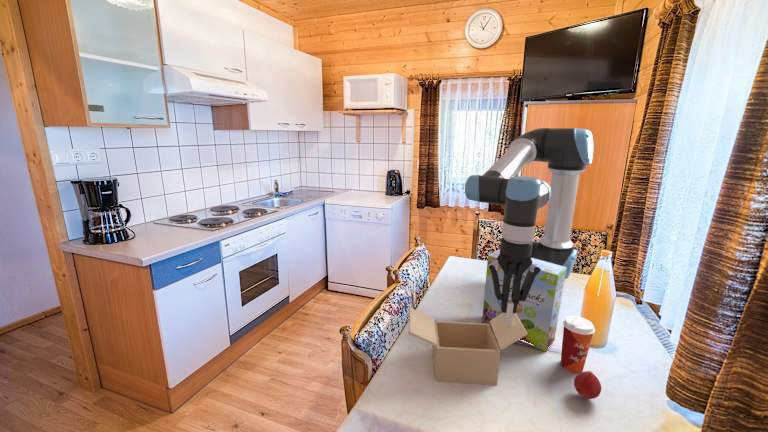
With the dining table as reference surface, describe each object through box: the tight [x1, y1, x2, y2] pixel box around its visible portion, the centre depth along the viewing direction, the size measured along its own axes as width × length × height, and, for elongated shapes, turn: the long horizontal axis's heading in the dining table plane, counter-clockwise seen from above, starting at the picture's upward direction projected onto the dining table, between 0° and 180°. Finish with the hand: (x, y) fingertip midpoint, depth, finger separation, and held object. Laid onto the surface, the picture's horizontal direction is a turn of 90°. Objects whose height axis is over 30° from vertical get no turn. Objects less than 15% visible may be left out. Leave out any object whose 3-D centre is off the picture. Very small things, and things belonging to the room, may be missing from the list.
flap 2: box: [490, 313, 527, 351], centre depth 93 cm, size 8×12×1 cm
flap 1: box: [408, 306, 437, 346], centre depth 95 cm, size 8×12×1 cm, turn 177°
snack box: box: [481, 248, 567, 353], centre depth 110 cm, size 22×9×26 cm, turn 47°
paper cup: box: [560, 315, 596, 374], centre depth 96 cm, size 8×8×14 cm
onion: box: [573, 370, 602, 400], centre depth 86 cm, size 6×6×8 cm
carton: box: [431, 320, 501, 386], centre depth 96 cm, size 16×13×10 cm
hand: (506, 322), depth 93 cm, fingers closed
